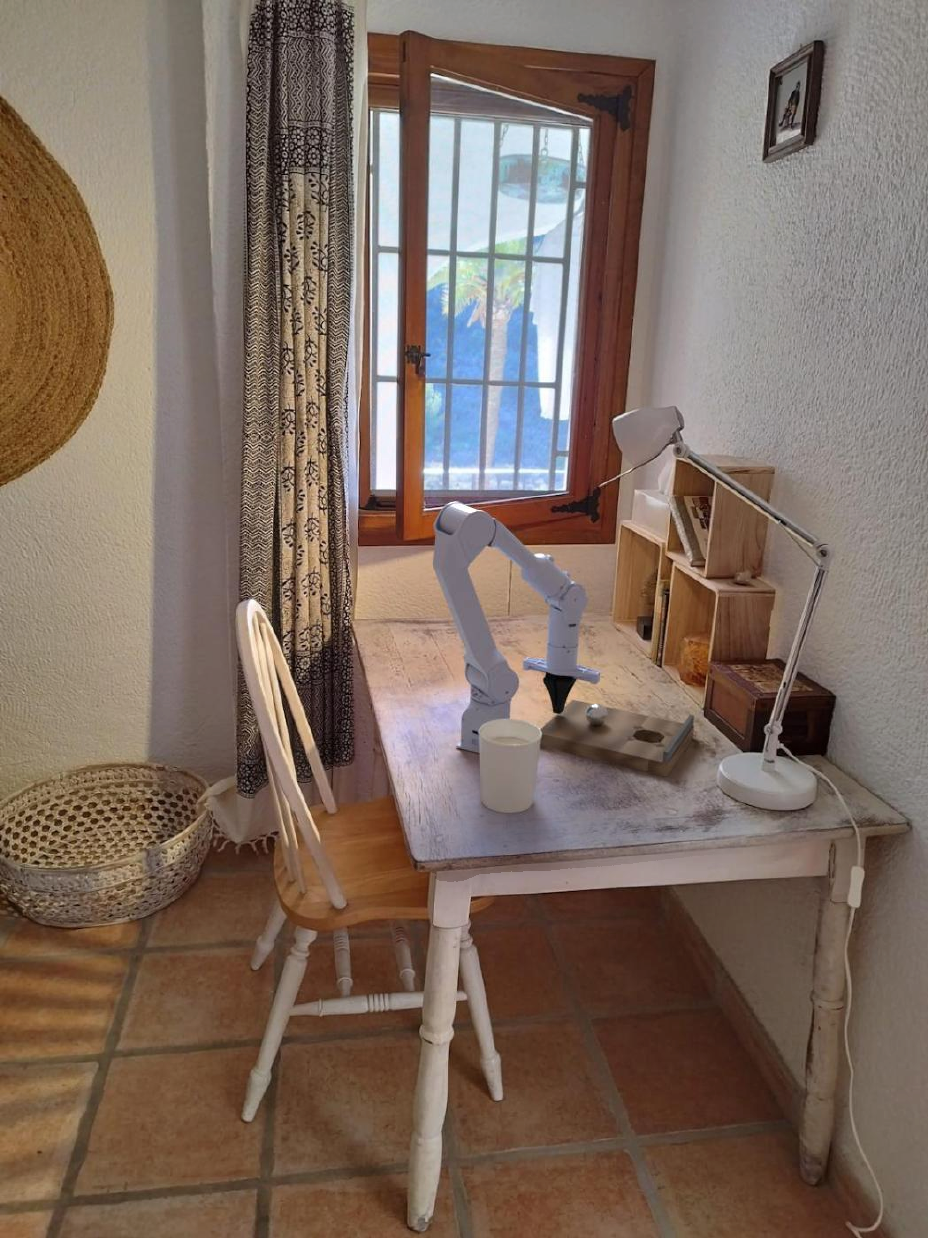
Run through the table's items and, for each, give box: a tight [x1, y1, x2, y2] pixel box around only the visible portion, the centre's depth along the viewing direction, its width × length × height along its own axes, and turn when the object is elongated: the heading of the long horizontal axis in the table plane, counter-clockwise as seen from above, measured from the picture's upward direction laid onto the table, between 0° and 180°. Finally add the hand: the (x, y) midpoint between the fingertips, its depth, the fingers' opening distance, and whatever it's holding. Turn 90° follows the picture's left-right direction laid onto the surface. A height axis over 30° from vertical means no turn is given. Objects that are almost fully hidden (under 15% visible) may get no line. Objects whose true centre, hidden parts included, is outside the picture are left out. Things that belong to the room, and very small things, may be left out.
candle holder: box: [479, 718, 542, 814], centre depth 140 cm, size 10×10×12 cm
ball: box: [586, 703, 608, 725], centre depth 164 cm, size 4×4×4 cm
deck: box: [540, 699, 695, 778], centre depth 163 cm, size 24×18×4 cm
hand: (558, 711), depth 167 cm, fingers closed
